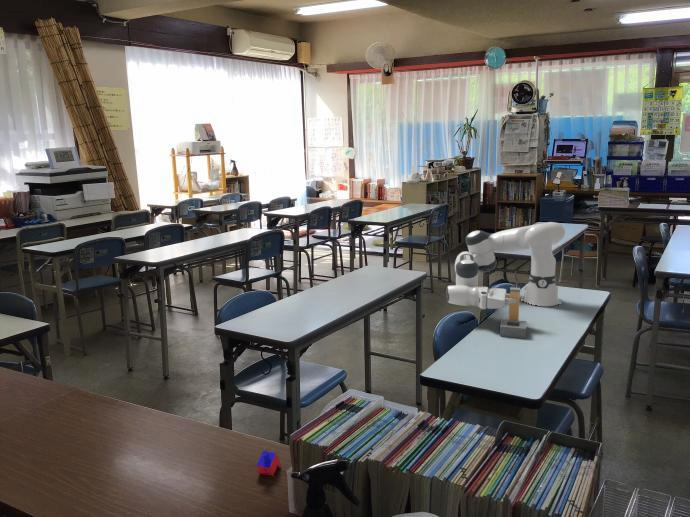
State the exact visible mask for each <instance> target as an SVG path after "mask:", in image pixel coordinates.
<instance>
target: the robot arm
mask: <svg viewBox="0 0 690 517" xmlns="http://www.w3.org/2000/svg"><path fill="white" fill-rule="evenodd" d="M565 234H566V230H565V228H564V226H563V225H562V224H561V223H559V222H554V221H548V222H543V223H538V224H533V225H532V224H531V225H525V226H520V227H515V228H510V229H504V230H500V231H497V232H495V233H493V234H490V233H489V232H486V231H483V230H480V229H479V230H474V231H473V230H472V231H471V232H470V233H468V234H467V235H466V236H465V238H464V239H465V244H466V246H467V249H468V251H461V252H460V253H459V254H457V256H456V259H455V262H454V271H455V285H447V287H446V291H445V292H446V293H445V294H446V302H447V303H449V304H452V305H457V306H463V307H464V306H472V307H478V308H480V309H481V310H486V309H490V310H491V309H492V310H498V309H499V310H501V309H505V306H506V305H509V304H510V303H517V299H516V298H512V299H510V293H507V289H506V288H500V287H499V288H495V287H494V288H492V287H491V288H489V287H488V286H479V283H478V282H479V273H488V272H491V271H493V270H494V269H496V267H497V265H498V262H497V258H496V255H495V253H494V252H497V253H508V252H515V251H522V250H523V251H524V250H529V252H530V258H531V259H530V260H531V264H530V266H531V267H530V273H529V278H528V279H529V281H528V283H527V284H526V285H525V286H524V291H525V292H524V295H523V296H522V297H521V298H520V302H522V301H524V302H523V303H526V302H527V303H526V304H528V303H529V305H531V304H532V306H535V305H537V306H538V307H554V306H558V304H559V305H562V301H561V300H560V299H559V286H557V284H556V281H557V277H556V276H557V275H556V264H557V263H556V262H557V260H556V258H555V256H554V254H553V249H552V248H553V245H556V244H558V243H559V242H561V241H562V240H563V239H564V238H565Z"/></svg>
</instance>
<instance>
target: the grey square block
mask: <svg viewBox="0 0 690 517" xmlns="http://www.w3.org/2000/svg"><path fill="white" fill-rule="evenodd" d="M499 327H500V328H499V336H500V337H508V338H518V337H519V339H526V334H527V321H526V320H518V321H516V320H509V319H504V318H502V319H501V320H500V326H499Z"/></svg>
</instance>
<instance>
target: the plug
mask: <svg viewBox="0 0 690 517" xmlns="http://www.w3.org/2000/svg"><path fill="white" fill-rule="evenodd" d="M509 288H510V289H509V294H510V299H512V298H516V299H517V303H510V304H508V307H509V308H508V320H516V321H519V315H520V301H521V298H520V296H521V294H520V293H521V287H509Z"/></svg>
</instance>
